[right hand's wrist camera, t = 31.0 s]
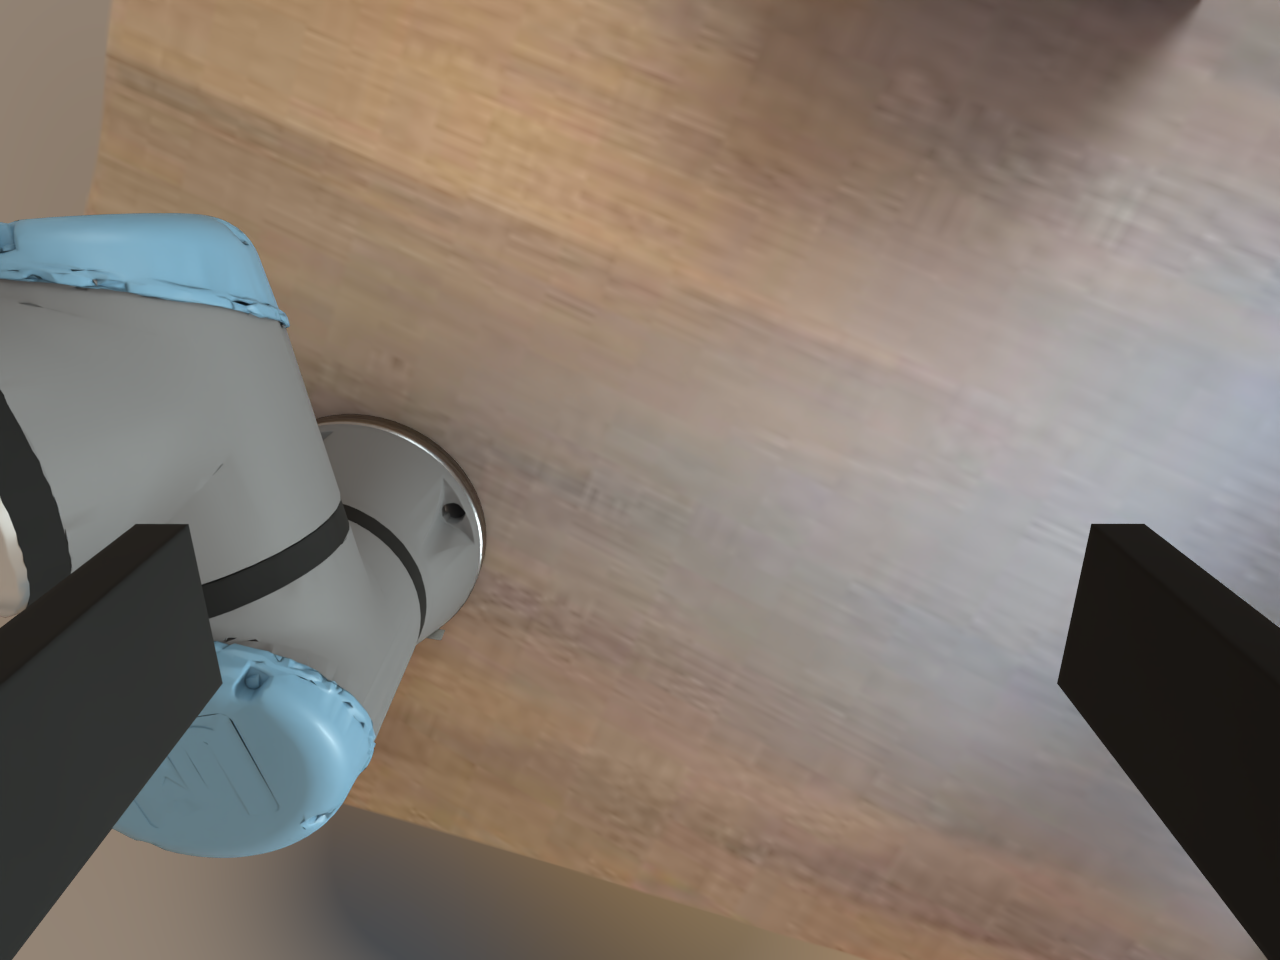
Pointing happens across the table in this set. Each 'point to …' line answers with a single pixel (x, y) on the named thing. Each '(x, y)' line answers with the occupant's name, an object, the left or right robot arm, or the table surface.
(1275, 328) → the table surface
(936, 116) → the table surface
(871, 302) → the table surface
